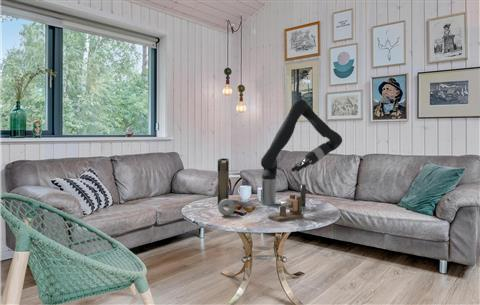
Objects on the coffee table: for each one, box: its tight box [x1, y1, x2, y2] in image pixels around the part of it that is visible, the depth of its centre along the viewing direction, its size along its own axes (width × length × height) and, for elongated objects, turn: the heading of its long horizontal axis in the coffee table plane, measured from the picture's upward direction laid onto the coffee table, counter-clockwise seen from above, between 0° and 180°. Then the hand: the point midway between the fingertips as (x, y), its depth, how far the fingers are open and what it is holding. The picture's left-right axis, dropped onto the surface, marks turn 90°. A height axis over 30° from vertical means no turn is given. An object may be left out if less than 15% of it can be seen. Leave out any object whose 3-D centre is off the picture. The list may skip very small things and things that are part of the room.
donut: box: [217, 198, 236, 217], centre depth 209 cm, size 10×4×10 cm, turn 99°
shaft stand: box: [267, 194, 305, 223], centre depth 205 cm, size 9×19×12 cm, turn 126°
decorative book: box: [217, 158, 230, 207], centre depth 247 cm, size 23×7×30 cm, turn 0°
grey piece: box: [279, 183, 307, 208], centre depth 208 cm, size 3×18×13 cm, turn 126°
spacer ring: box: [285, 197, 298, 211], centre depth 207 cm, size 7×2×6 cm, turn 36°
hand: (294, 170), depth 217 cm, fingers open, 8 cm apart
